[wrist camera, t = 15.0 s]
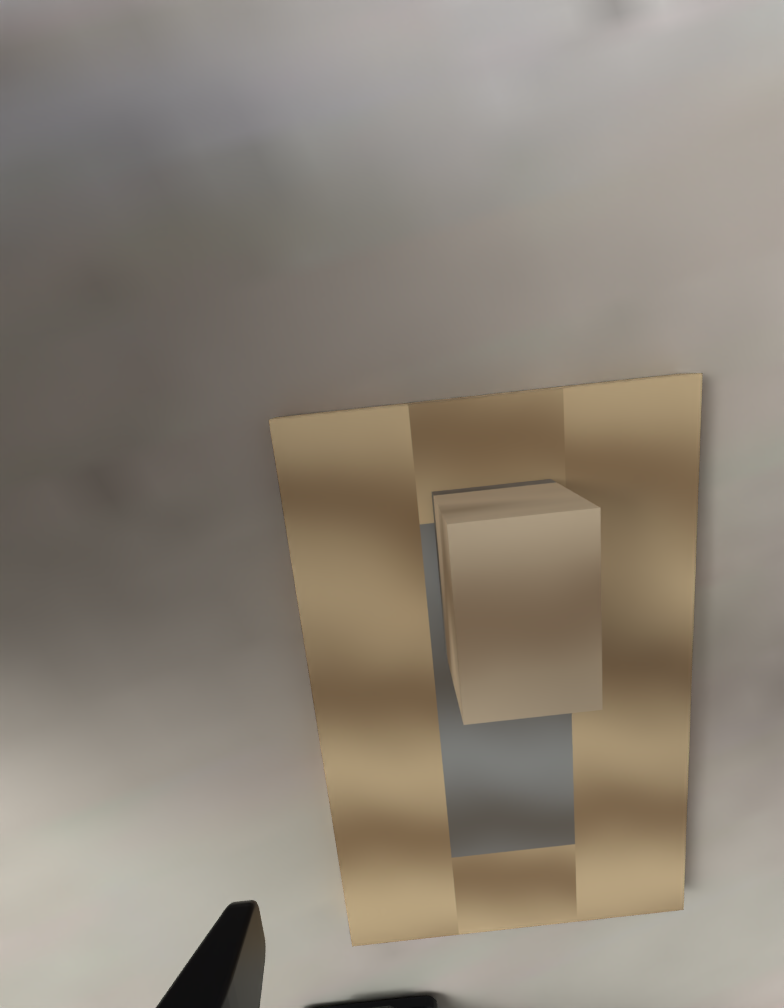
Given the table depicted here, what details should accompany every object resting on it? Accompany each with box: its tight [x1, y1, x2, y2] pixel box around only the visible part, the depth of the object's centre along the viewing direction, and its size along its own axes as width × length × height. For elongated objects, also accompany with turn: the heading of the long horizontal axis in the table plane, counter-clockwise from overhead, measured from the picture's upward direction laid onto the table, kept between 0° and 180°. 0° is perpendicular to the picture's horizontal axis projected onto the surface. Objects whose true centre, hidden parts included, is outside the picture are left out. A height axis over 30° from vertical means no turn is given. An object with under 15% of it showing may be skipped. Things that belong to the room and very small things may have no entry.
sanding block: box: [432, 479, 602, 725], centre depth 16 cm, size 6×4×4 cm, turn 6°
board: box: [269, 373, 702, 946], centre depth 20 cm, size 22×14×1 cm, turn 6°
